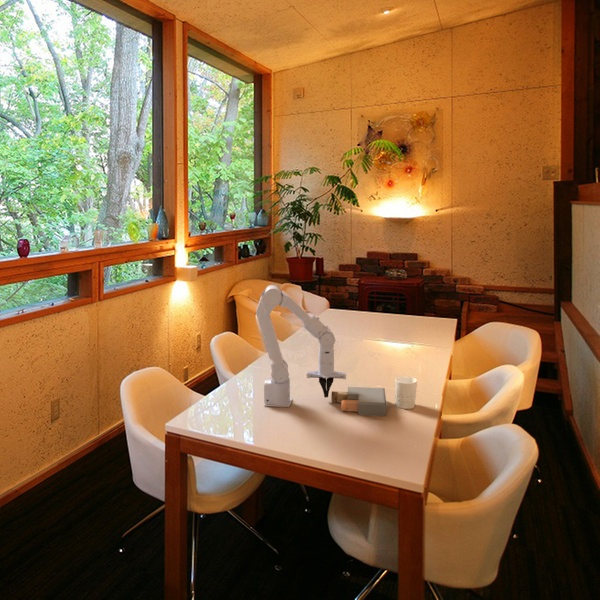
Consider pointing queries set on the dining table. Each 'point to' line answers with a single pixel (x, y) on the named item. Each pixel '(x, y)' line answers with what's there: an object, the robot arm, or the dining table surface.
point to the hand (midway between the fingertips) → (326, 396)
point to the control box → (369, 400)
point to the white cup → (405, 392)
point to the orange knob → (349, 405)
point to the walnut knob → (338, 396)
